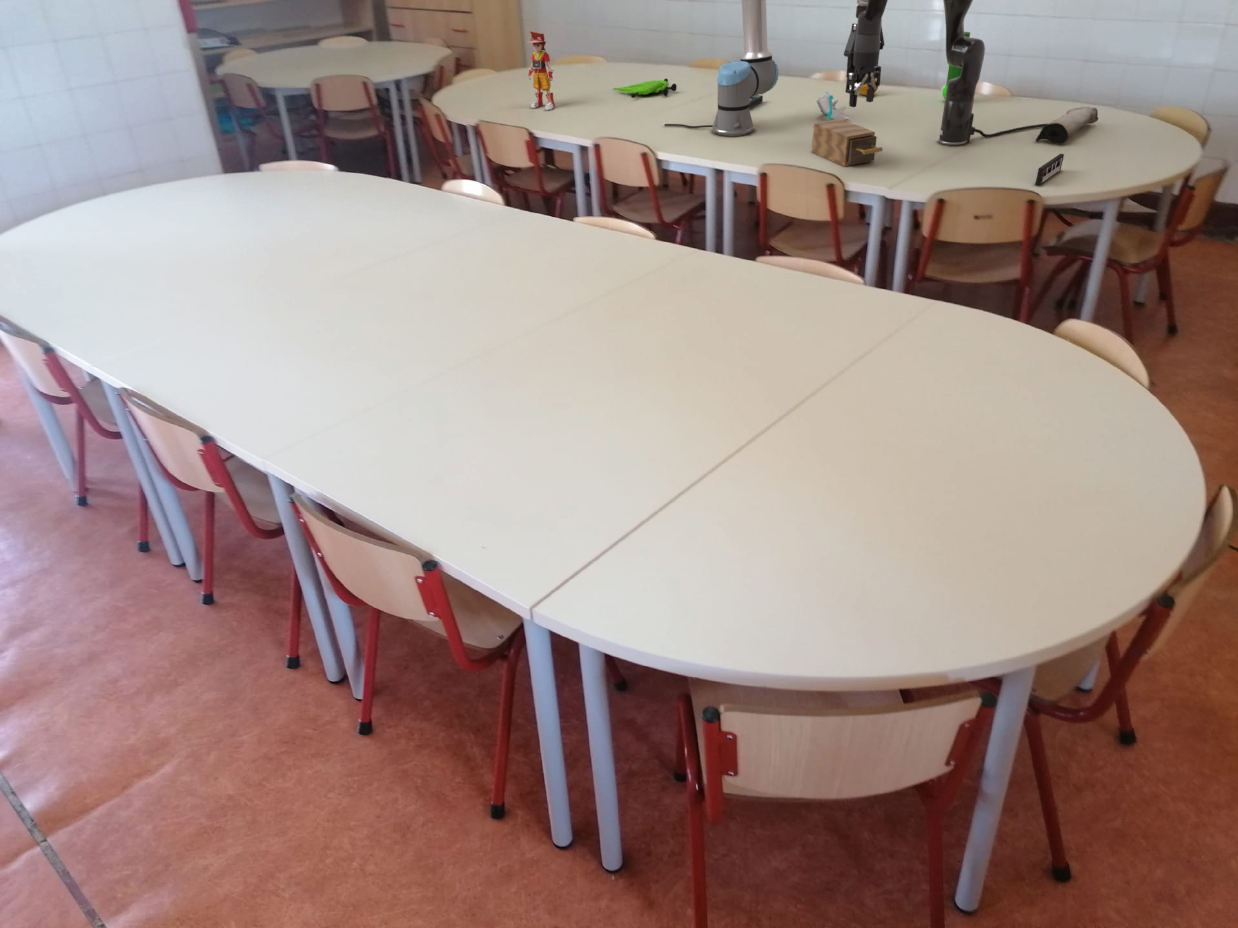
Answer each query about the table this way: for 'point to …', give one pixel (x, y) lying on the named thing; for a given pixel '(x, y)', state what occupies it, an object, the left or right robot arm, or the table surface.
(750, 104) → the disk drive
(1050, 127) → the rolled mat
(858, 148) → the drawer
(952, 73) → the plastic bottle
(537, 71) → the toy
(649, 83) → the toy
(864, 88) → the fruit
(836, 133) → the cabinet
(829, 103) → the anatomical model
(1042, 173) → the midi keyboard
